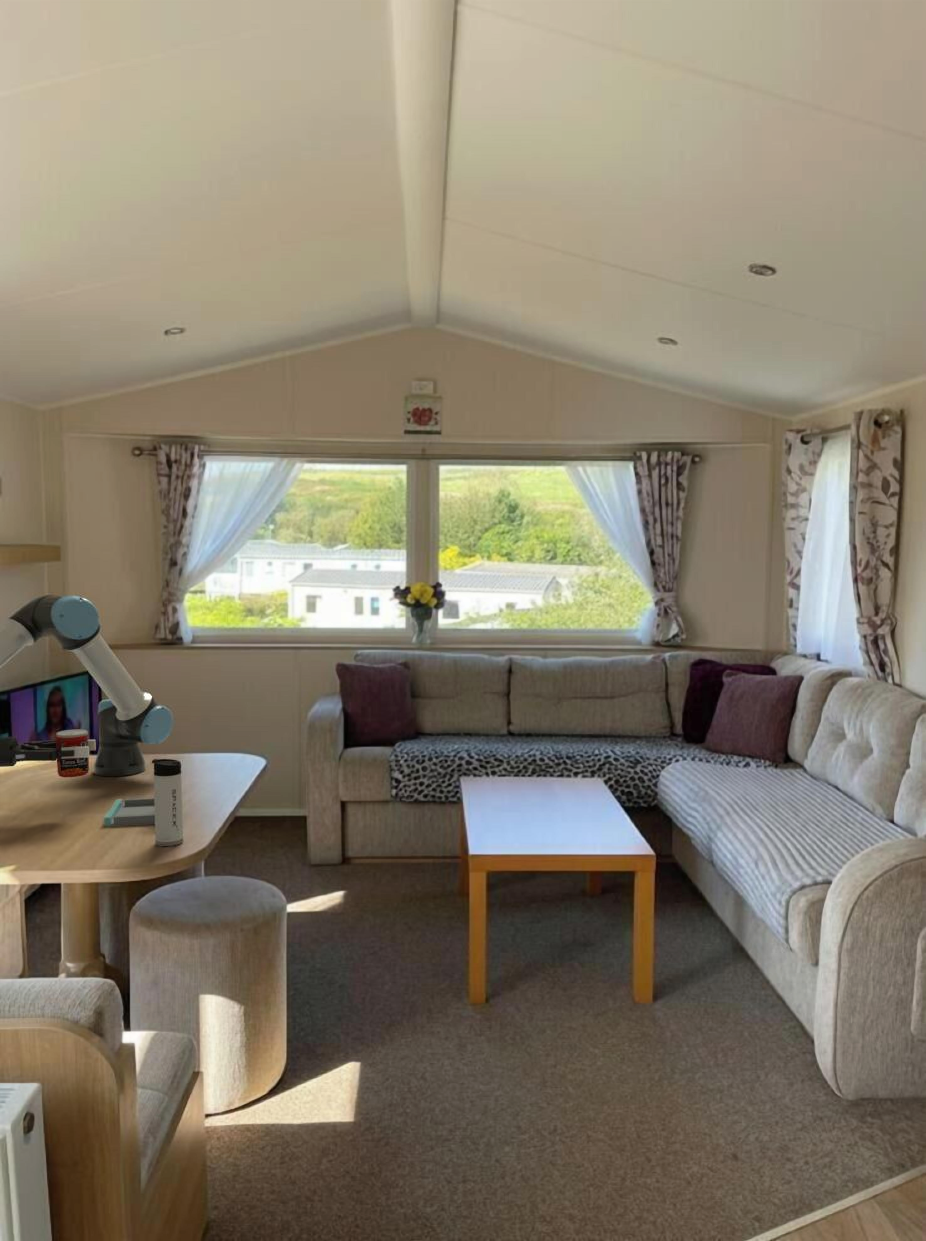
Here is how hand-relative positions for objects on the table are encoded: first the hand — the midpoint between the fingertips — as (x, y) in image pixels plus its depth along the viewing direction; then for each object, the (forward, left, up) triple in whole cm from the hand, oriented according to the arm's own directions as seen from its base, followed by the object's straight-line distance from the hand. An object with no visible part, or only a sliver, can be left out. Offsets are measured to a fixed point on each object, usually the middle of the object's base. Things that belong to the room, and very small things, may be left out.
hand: (91, 748), depth 250 cm
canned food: (0, -5, -7) cm, 8 cm away
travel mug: (+29, +22, -18) cm, 41 cm away
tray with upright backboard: (+3, +12, -18) cm, 22 cm away
